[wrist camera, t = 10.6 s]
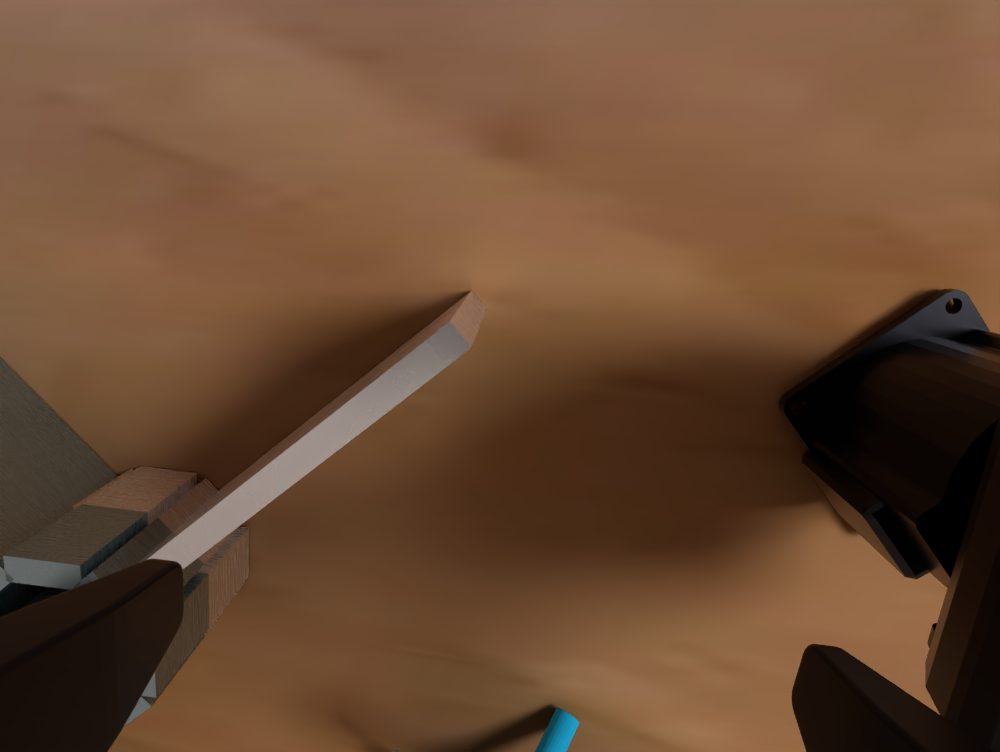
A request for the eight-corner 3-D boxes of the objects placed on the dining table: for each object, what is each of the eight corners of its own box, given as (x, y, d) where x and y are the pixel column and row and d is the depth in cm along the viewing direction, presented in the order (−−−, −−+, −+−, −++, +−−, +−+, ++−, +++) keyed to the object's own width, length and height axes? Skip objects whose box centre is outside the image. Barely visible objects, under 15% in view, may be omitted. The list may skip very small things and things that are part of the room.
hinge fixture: (152, -113, 17) (-36, -280, 11) (534, 369, 20) (537, 430, 15) (-202, 276, 21) (-486, 299, 15) (173, 636, 24) (60, 771, 18)
